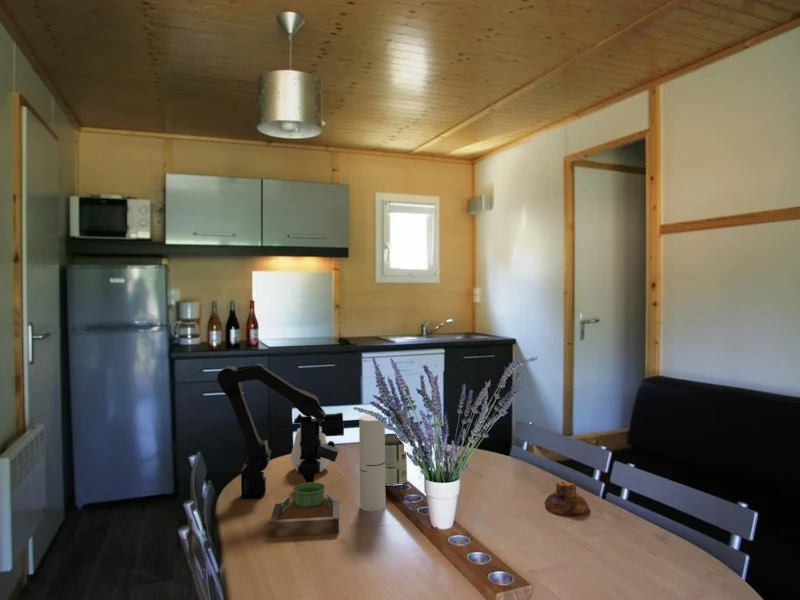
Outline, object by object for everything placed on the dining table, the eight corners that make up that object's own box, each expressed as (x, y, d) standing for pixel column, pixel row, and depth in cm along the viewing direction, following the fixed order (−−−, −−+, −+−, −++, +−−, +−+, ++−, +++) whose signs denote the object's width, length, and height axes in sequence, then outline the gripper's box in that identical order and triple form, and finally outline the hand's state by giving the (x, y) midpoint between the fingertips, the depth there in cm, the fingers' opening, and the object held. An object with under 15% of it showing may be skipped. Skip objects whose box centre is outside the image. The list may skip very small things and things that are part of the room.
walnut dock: (269, 536, 137) (269, 522, 137) (275, 516, 150) (275, 503, 150) (338, 532, 139) (338, 518, 139) (338, 513, 152) (338, 500, 152)
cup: (283, 474, 185) (282, 432, 185) (301, 462, 198) (301, 423, 198) (320, 477, 181) (319, 434, 181) (336, 465, 194) (336, 425, 194)
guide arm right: (335, 511, 153) (335, 500, 153) (332, 512, 152) (332, 501, 152) (329, 504, 158) (329, 493, 158) (326, 504, 158) (326, 494, 158)
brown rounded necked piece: (535, 505, 156) (535, 479, 156) (567, 498, 162) (567, 473, 162) (565, 520, 146) (565, 492, 146) (598, 511, 151) (598, 485, 151)
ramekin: (310, 494, 166) (310, 479, 166) (331, 501, 161) (331, 486, 161) (286, 503, 160) (286, 488, 159) (307, 511, 154) (307, 495, 154)
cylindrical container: (382, 512, 152) (381, 421, 152) (357, 510, 153) (356, 420, 153) (388, 502, 159) (387, 415, 159) (363, 501, 160) (363, 414, 160)
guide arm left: (282, 514, 151) (282, 503, 151) (279, 514, 151) (279, 503, 151) (290, 506, 157) (290, 495, 157) (287, 506, 157) (287, 495, 157)
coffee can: (377, 476, 182) (376, 433, 182) (408, 476, 181) (408, 433, 181) (372, 486, 172) (372, 441, 172) (405, 487, 171) (405, 442, 171)
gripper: (336, 444, 160) (337, 498, 160) (336, 428, 179) (337, 477, 179) (297, 445, 159) (298, 500, 159) (301, 429, 177) (301, 478, 177)
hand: (310, 488), depth 169 cm, fingers closed
